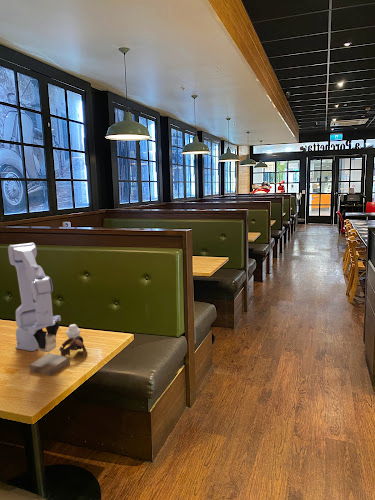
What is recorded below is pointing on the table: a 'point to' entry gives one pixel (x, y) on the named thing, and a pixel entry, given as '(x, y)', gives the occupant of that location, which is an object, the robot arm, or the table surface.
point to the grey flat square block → (49, 364)
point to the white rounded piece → (73, 331)
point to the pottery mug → (73, 346)
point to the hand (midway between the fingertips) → (47, 345)
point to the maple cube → (49, 343)
